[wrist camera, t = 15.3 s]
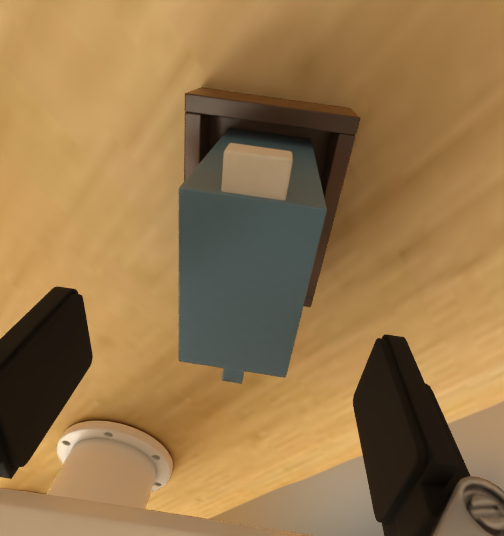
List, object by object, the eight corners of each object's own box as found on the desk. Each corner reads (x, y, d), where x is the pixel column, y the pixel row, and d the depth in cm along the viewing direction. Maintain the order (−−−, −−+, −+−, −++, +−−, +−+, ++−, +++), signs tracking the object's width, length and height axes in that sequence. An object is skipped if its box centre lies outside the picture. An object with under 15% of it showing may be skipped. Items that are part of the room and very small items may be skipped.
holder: (308, 280, 24) (310, 307, 22) (194, 263, 24) (182, 288, 22) (350, 108, 18) (360, 117, 16) (199, 87, 19) (184, 93, 16)
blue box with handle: (316, 114, 18) (337, 167, 10) (281, 288, 24) (276, 415, 16) (230, 102, 18) (178, 144, 10) (217, 278, 24) (178, 399, 16)
